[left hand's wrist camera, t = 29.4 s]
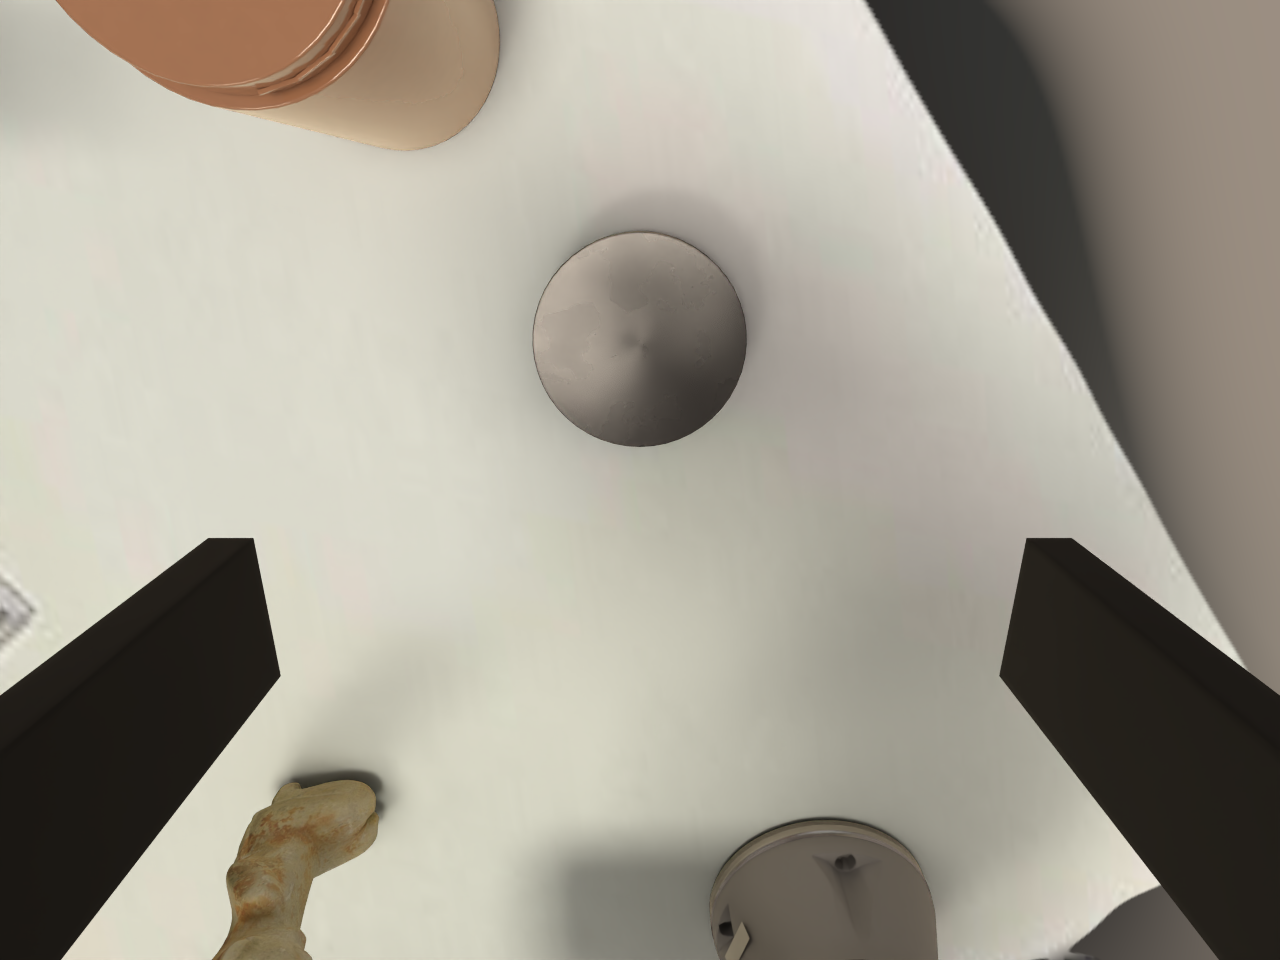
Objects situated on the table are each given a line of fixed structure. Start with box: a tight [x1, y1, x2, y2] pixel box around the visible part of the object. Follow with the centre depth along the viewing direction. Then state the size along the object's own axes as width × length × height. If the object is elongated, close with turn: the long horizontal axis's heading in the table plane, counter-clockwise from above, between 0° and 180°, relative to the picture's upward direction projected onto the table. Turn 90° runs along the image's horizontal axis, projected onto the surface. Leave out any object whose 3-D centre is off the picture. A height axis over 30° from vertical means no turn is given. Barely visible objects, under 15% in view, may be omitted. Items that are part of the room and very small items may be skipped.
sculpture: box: [212, 780, 379, 960], centre depth 42 cm, size 6×7×15 cm
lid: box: [533, 231, 747, 447], centre depth 38 cm, size 11×11×2 cm
